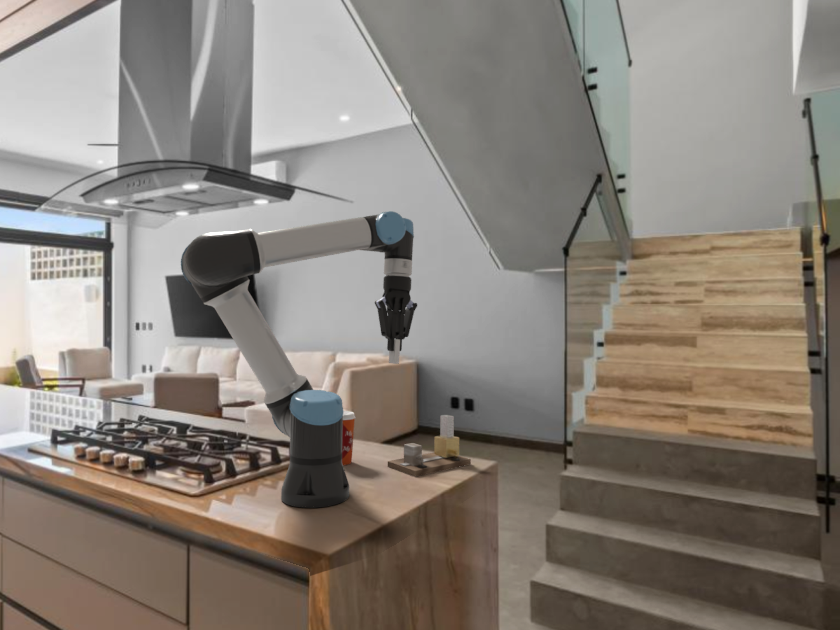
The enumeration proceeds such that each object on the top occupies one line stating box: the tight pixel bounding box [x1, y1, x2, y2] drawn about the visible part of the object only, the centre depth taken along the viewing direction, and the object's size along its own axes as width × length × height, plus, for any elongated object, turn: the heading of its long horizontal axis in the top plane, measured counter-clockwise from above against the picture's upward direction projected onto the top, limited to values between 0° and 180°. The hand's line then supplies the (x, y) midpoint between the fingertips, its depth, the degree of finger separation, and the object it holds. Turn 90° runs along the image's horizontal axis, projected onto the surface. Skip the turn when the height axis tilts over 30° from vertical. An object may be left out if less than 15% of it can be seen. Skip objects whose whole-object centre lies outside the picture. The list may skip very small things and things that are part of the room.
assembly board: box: [387, 442, 472, 478], centre depth 152 cm, size 20×12×6 cm, turn 129°
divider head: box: [433, 414, 460, 458], centre depth 156 cm, size 5×7×11 cm
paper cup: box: [342, 410, 357, 466], centre depth 154 cm, size 8×8×14 cm
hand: (393, 363), depth 148 cm, fingers closed
